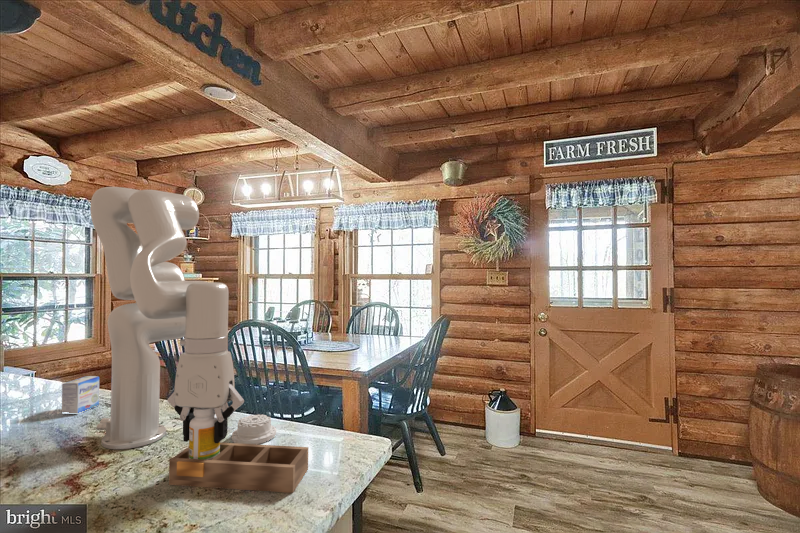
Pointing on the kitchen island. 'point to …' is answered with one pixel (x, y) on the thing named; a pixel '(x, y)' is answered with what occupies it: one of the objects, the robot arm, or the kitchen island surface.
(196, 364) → the robot arm
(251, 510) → the kitchen island surface
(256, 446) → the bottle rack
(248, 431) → the mechanical component
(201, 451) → the supplement bottle
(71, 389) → the medicine box
